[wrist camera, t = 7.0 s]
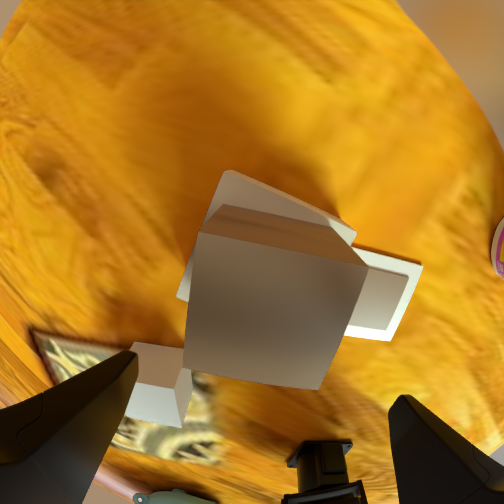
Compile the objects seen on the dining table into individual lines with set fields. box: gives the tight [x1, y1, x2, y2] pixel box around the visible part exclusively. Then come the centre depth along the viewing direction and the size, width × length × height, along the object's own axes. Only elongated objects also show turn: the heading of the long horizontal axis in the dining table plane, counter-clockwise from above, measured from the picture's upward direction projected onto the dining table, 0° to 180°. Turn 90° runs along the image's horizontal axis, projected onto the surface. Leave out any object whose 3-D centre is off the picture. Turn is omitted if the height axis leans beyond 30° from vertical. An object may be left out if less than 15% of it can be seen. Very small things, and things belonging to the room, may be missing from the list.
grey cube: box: [125, 342, 193, 428], centre depth 21 cm, size 5×5×5 cm
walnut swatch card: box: [344, 246, 423, 341], centre depth 20 cm, size 7×7×1 cm
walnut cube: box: [182, 204, 369, 390], centre depth 13 cm, size 6×6×6 cm
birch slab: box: [176, 169, 357, 302], centre depth 18 cm, size 8×8×4 cm
